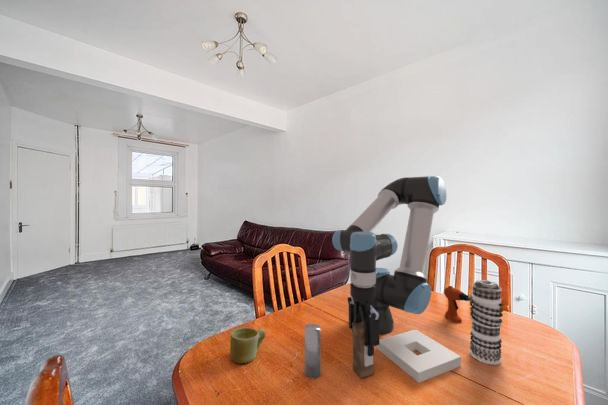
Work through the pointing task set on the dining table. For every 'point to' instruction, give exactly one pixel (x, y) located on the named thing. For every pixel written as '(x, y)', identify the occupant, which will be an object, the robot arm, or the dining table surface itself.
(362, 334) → the square peg
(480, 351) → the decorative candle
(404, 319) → the dining table surface
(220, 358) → the dining table surface
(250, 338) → the mug
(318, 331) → the round peg
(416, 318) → the dining table surface
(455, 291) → the toy drill
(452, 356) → the socket plate
